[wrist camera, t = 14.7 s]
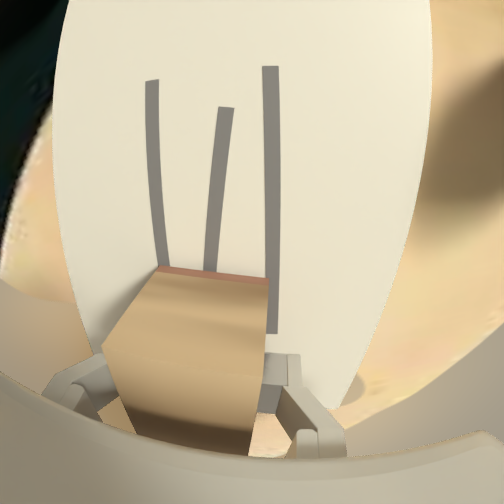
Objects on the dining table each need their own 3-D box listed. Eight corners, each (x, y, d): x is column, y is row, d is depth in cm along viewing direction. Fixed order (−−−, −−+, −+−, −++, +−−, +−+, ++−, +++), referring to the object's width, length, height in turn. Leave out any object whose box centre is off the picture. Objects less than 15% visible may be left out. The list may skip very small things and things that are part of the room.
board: (89, 3, 7) (70, -6, 6) (413, 9, 7) (429, -2, 5) (110, 358, 16) (101, 374, 14) (334, 389, 15) (337, 409, 14)
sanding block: (160, 265, 10) (101, 346, 6) (269, 278, 10) (262, 377, 6) (174, 385, 13) (149, 457, 9) (252, 397, 13) (243, 476, 9)
